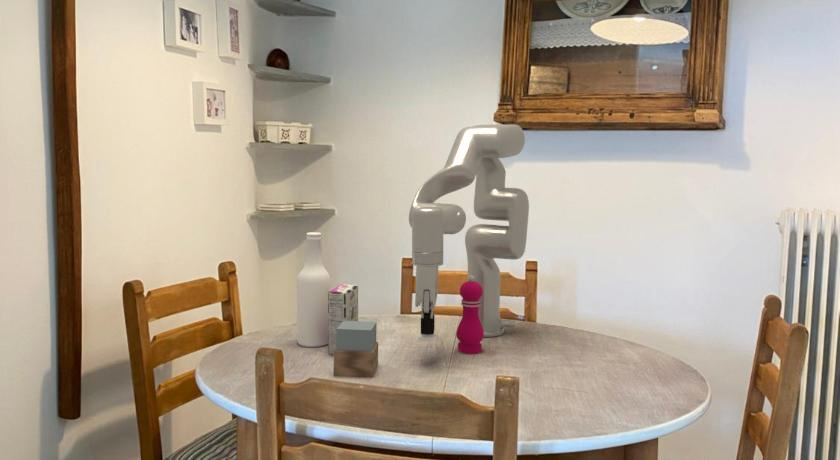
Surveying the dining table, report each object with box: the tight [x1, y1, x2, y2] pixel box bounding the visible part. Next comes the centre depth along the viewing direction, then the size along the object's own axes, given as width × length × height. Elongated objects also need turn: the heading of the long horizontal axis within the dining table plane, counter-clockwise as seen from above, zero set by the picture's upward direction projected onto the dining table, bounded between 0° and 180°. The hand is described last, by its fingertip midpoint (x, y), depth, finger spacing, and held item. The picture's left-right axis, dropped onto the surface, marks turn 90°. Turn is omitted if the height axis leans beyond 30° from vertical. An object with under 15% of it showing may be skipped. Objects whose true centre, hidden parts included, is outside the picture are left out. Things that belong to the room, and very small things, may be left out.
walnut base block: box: [333, 341, 379, 379], centre depth 151 cm, size 9×9×6 cm
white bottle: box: [296, 231, 331, 348], centre depth 173 cm, size 9×9×30 cm
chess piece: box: [417, 309, 438, 343], centre depth 157 cm, size 5×5×10 cm
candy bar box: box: [328, 283, 359, 356], centre depth 168 cm, size 11×5×16 cm, turn 168°
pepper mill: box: [456, 275, 485, 355], centre depth 169 cm, size 7×7×20 cm
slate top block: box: [336, 320, 378, 352], centre depth 151 cm, size 8×8×5 cm
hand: (427, 331), depth 157 cm, fingers closed on chess piece
